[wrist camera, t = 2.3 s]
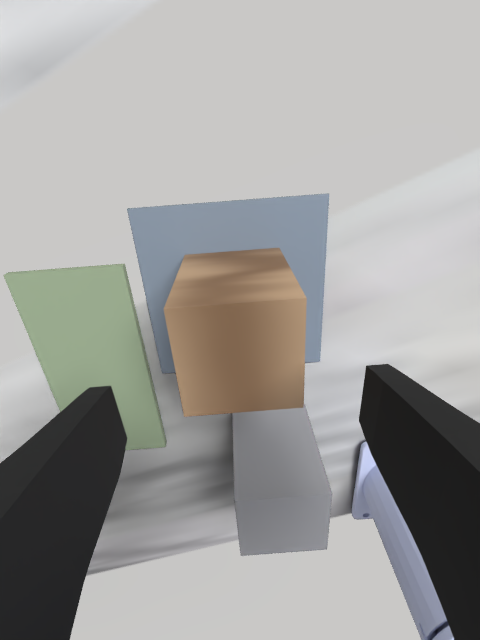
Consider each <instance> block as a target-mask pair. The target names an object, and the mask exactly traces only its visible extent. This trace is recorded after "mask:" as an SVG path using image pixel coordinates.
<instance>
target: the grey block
mask: <svg viewBox="0 0 480 640" xmlns="http://www.w3.org/2000/svg"><path fill="white" fill-rule="evenodd" d="M232 415H233V460H234V502H235V511H236V519H237V528H238V536H239V545H240V553H241V556H245V555H259V554H272V553H285V552H298V551H309V550H310V551H311V550H324V549H327V543H328V532H329V522H330V512H331V502H332V491H331V488H330V485H329V482H328V478H327V475H326V472H325V468H324V465H323V462H322V459H321V455H320V452H319V449H318V446H317V442H316V439H315V436H314V433H313V429H312V426H311V423H310V420H309V416H308V413H307V410H306V406H305V404H304V406H303V408H292V409H279V410H266V411H253V412H240V413H232Z"/></svg>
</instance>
